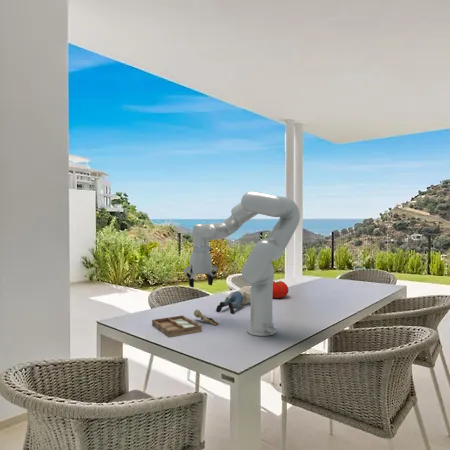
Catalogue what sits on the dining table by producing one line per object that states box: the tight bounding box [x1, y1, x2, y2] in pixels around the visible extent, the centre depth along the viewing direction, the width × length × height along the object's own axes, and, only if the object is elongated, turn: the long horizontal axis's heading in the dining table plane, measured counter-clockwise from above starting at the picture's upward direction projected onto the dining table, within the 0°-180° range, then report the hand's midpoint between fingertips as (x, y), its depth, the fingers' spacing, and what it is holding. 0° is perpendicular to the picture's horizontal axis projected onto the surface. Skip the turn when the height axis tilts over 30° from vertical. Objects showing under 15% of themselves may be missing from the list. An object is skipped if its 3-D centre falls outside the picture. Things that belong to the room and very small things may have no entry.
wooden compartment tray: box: [151, 315, 203, 338], centre depth 170 cm, size 21×15×2 cm
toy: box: [215, 285, 251, 315], centre depth 210 cm, size 23×10×30 cm
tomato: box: [272, 280, 289, 299], centre depth 236 cm, size 14×16×10 cm
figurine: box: [193, 309, 220, 326], centre depth 179 cm, size 4×4×15 cm
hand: (201, 285), depth 179 cm, fingers open, 9 cm apart
